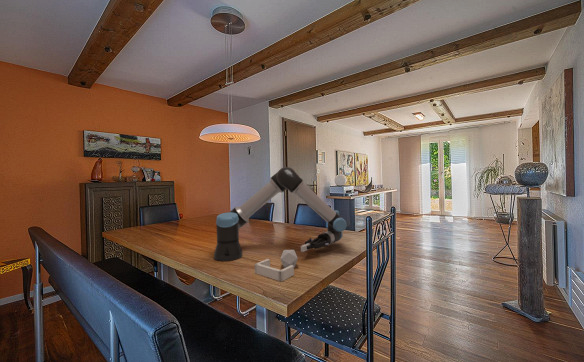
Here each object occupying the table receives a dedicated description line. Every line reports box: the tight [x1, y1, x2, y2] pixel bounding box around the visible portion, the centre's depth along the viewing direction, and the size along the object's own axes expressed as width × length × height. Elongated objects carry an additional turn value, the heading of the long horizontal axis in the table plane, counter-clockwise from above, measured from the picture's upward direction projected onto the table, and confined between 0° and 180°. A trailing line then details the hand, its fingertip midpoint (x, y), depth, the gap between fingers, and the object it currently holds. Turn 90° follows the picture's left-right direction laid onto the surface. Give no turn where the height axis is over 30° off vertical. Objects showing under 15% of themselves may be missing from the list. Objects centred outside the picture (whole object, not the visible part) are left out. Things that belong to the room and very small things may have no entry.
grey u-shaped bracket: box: [253, 258, 295, 282], centre depth 109 cm, size 16×8×4 cm, turn 51°
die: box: [279, 249, 298, 269], centre depth 118 cm, size 8×9×10 cm
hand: (301, 249), depth 126 cm, fingers closed
